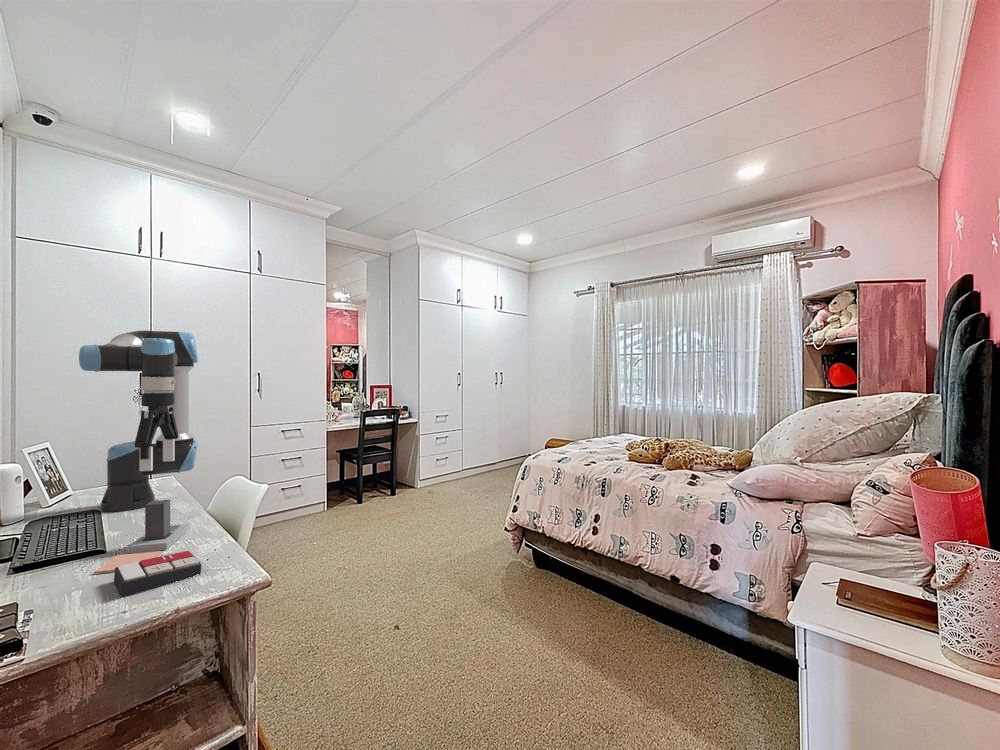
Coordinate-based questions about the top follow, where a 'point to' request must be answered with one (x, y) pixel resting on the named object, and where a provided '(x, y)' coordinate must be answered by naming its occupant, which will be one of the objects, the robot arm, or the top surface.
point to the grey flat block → (161, 544)
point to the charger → (157, 520)
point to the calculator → (155, 572)
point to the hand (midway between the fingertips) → (157, 465)
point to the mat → (125, 561)
